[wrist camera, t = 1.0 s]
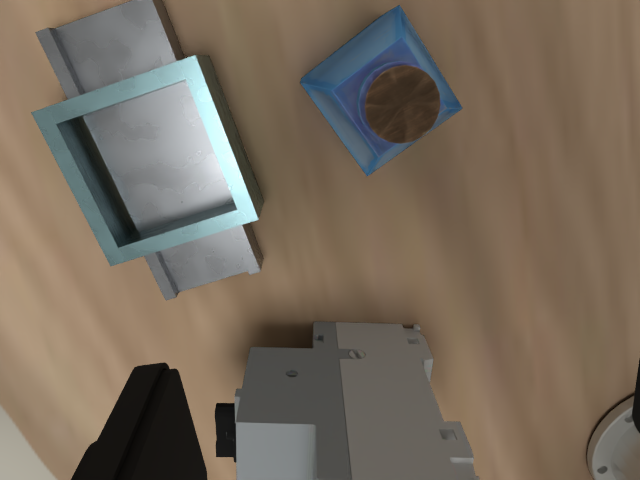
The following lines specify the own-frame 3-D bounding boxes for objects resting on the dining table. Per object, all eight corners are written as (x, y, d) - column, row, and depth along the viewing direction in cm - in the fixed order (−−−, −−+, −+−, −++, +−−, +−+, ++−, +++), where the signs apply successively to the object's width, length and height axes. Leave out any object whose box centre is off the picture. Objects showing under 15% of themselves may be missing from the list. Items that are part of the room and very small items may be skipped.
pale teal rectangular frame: (183, -13, 29) (165, -23, 25) (282, 252, 35) (280, 275, 31) (32, 42, 30) (-7, 39, 26) (155, 291, 36) (137, 318, 32)
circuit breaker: (233, 318, 37) (188, 477, 23) (419, 324, 38) (485, 482, 24) (234, 400, 40) (195, 586, 26) (408, 404, 40) (462, 589, 26)
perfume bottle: (381, 15, 30) (426, -11, 19) (434, 99, 32) (503, 121, 21) (301, 78, 31) (297, 89, 20) (356, 155, 33) (382, 205, 22)
